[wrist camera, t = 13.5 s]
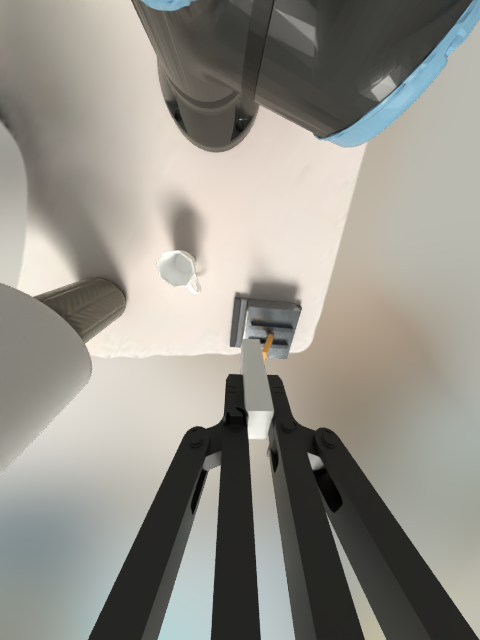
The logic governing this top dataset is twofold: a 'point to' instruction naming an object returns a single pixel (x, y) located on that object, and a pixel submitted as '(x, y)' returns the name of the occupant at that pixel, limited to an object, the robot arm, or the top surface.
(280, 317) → the box
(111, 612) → the robot arm
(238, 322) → the gray slab
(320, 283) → the top surface
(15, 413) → the lamp
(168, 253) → the cup
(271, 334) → the lever
